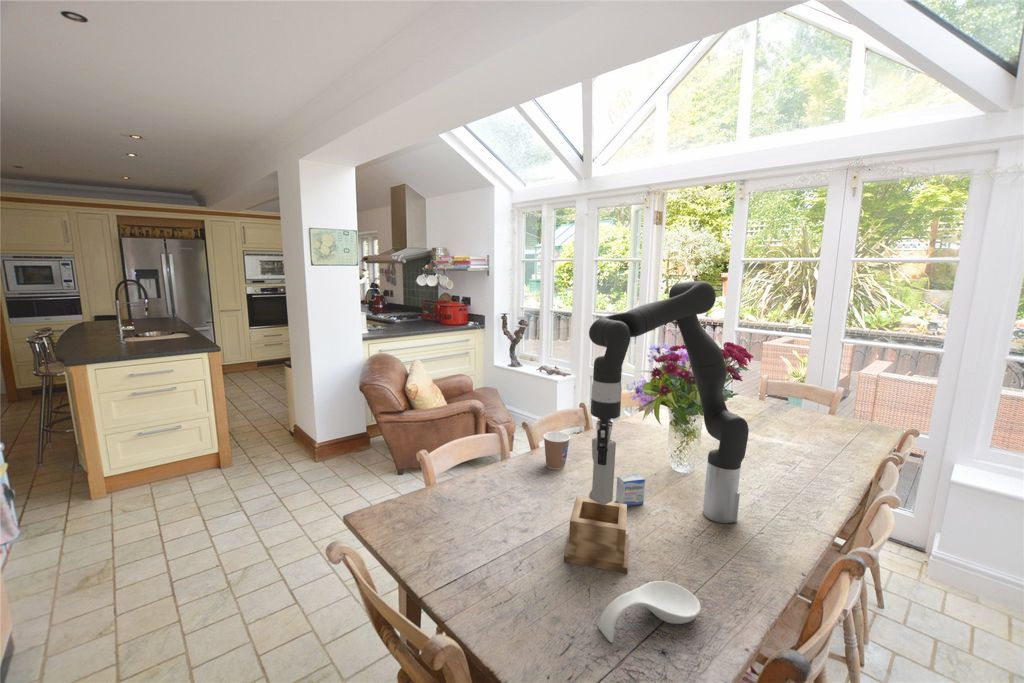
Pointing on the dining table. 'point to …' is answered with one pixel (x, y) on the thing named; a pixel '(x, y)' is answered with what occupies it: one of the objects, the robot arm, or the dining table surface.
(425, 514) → the dining table surface
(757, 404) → the dining table surface
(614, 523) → the socket block
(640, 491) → the medicine box
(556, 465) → the coffee cup
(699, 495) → the dining table surface
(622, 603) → the spoon rest
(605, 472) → the vintage mobile phone
